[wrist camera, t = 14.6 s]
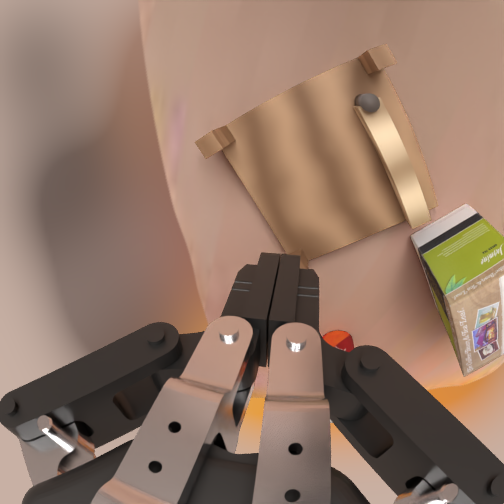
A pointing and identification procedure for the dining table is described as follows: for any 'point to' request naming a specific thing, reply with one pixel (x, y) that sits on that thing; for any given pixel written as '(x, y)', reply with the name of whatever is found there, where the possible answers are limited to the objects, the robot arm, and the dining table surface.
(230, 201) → the dining table surface
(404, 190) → the tan curved wooden piece
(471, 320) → the tea box
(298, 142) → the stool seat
